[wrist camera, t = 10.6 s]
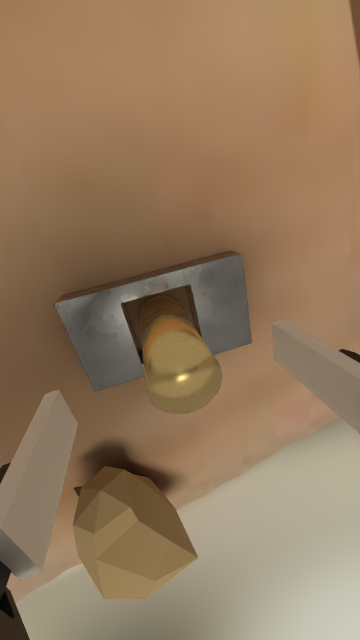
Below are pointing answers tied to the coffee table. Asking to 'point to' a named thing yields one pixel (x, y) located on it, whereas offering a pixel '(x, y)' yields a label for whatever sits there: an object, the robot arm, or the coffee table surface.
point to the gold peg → (176, 358)
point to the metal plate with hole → (108, 300)
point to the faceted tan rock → (129, 535)
